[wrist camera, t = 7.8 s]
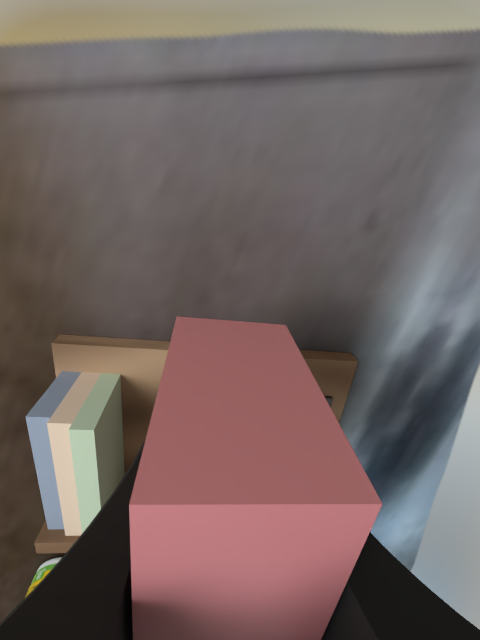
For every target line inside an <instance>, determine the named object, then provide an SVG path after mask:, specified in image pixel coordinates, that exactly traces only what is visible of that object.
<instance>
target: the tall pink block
mask: <svg viewBox="0 0 480 640" xmlns="http://www.w3.org/2000/svg"><path fill="white" fill-rule="evenodd" d="M381 506H382V502H381V500H380V499H379V497H378V495H377V493H376V491H375V489H374V487H373V486H372V484H371V482H370V480H369V478H368V476H367V475H366V473H365V471H364V469H363V467H362V465H361V463H360V462H359V460H358V458H357V456H356V454H355V452H354V450H353V449H352V447H351V445H350V443H349V441H348V439H347V438H346V436H345V434H344V432H343V430H342V428H341V426H340V425H339V423H338V421H337V419H336V417H335V415H334V413H333V412H332V410H331V408H330V406H329V404H328V402H327V401H326V399H325V397H324V395H323V393H322V391H321V389H320V388H319V386H318V384H317V382H316V380H315V378H314V376H313V375H312V373H311V371H310V369H309V367H308V365H307V363H306V362H305V360H304V358H303V356H302V354H301V352H300V351H299V349H298V347H297V345H296V343H295V341H294V339H293V338H292V336H291V334H290V332H289V330H288V328H287V326H286V325H279V324H266V323H253V322H240V321H227V320H215V319H202V318H189V317H177V318H176V322H175V326H174V330H173V333H172V337H171V341H170V345H169V349H168V353H167V357H166V361H165V365H164V369H163V373H162V377H161V381H160V385H159V389H158V393H157V397H156V401H155V405H154V408H153V412H152V416H151V420H150V424H149V428H148V432H147V436H146V440H145V444H144V448H143V452H142V456H141V460H140V464H139V468H138V472H137V476H136V480H135V483H134V487H133V491H132V495H131V499H130V503H129V519H130V553H131V587H132V621H133V640H321V638H322V636H323V634H324V632H325V630H326V627H327V625H328V623H329V621H330V619H331V616H332V614H333V612H334V610H335V608H336V605H337V603H338V601H339V599H340V597H341V594H342V592H343V590H344V588H345V586H346V583H347V581H348V579H349V577H350V575H351V572H352V570H353V568H354V566H355V564H356V561H357V559H358V557H359V555H360V553H361V550H362V548H363V546H364V544H365V542H366V539H367V537H368V535H369V533H370V531H371V528H372V526H373V524H374V522H375V520H376V517H377V515H378V513H379V511H380V509H381Z"/></svg>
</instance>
